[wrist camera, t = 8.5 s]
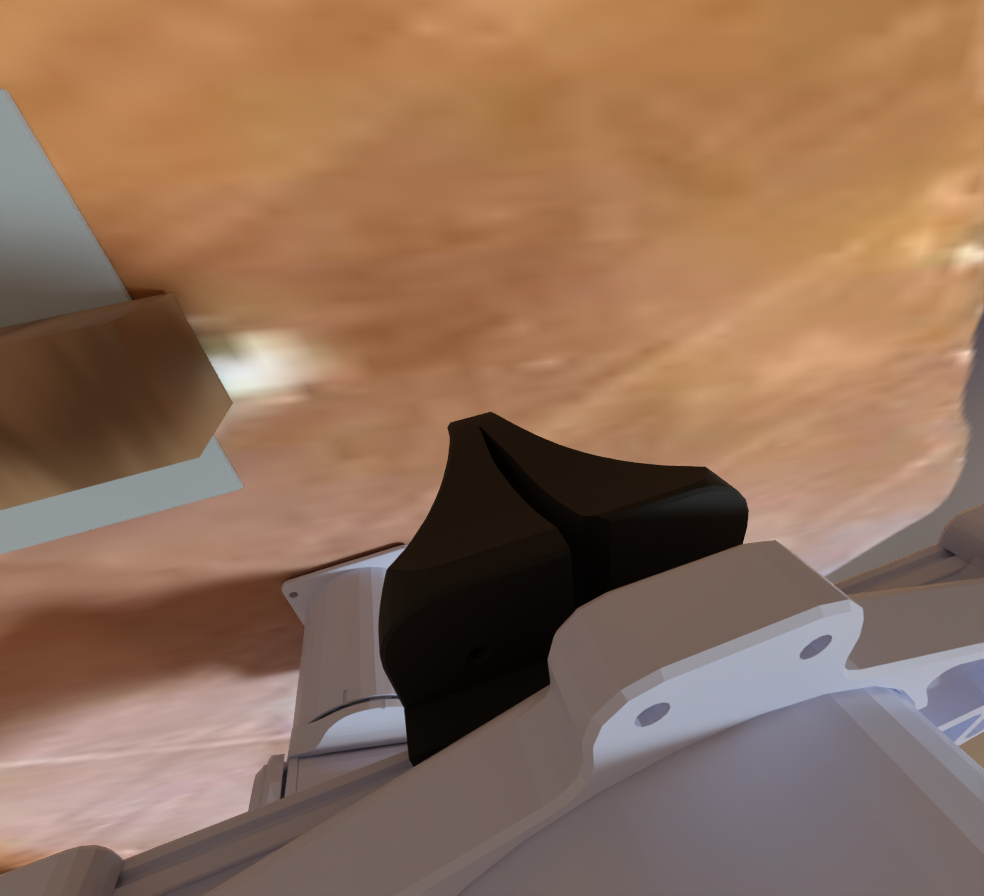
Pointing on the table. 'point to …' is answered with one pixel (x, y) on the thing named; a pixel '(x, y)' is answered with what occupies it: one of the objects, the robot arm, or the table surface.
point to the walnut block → (102, 398)
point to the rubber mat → (62, 290)
